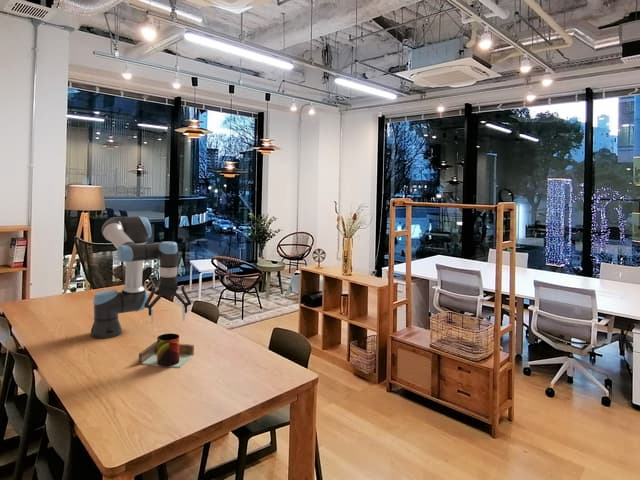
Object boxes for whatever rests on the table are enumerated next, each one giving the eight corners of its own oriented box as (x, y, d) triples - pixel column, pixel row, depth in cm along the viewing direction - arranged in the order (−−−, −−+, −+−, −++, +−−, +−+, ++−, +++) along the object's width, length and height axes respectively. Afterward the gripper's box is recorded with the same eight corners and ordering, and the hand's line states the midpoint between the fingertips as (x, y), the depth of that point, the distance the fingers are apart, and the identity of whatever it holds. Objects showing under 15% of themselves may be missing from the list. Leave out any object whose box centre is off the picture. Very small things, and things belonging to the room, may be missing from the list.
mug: (177, 353, 205) (177, 329, 204) (180, 364, 192) (180, 339, 191) (156, 356, 201) (156, 331, 200) (157, 367, 188) (157, 341, 187)
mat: (142, 364, 193) (142, 363, 193) (157, 352, 206) (157, 351, 206) (179, 367, 191) (179, 366, 191) (192, 356, 204) (192, 354, 204)
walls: (138, 364, 193) (138, 353, 192) (155, 351, 208) (155, 341, 208) (179, 367, 191) (179, 357, 190) (194, 354, 206) (194, 344, 206)
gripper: (138, 278, 183) (138, 325, 186) (197, 276, 193) (197, 321, 196) (138, 275, 190) (138, 320, 193) (195, 273, 200) (195, 316, 203)
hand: (168, 321), depth 194 cm, fingers open, 13 cm apart
